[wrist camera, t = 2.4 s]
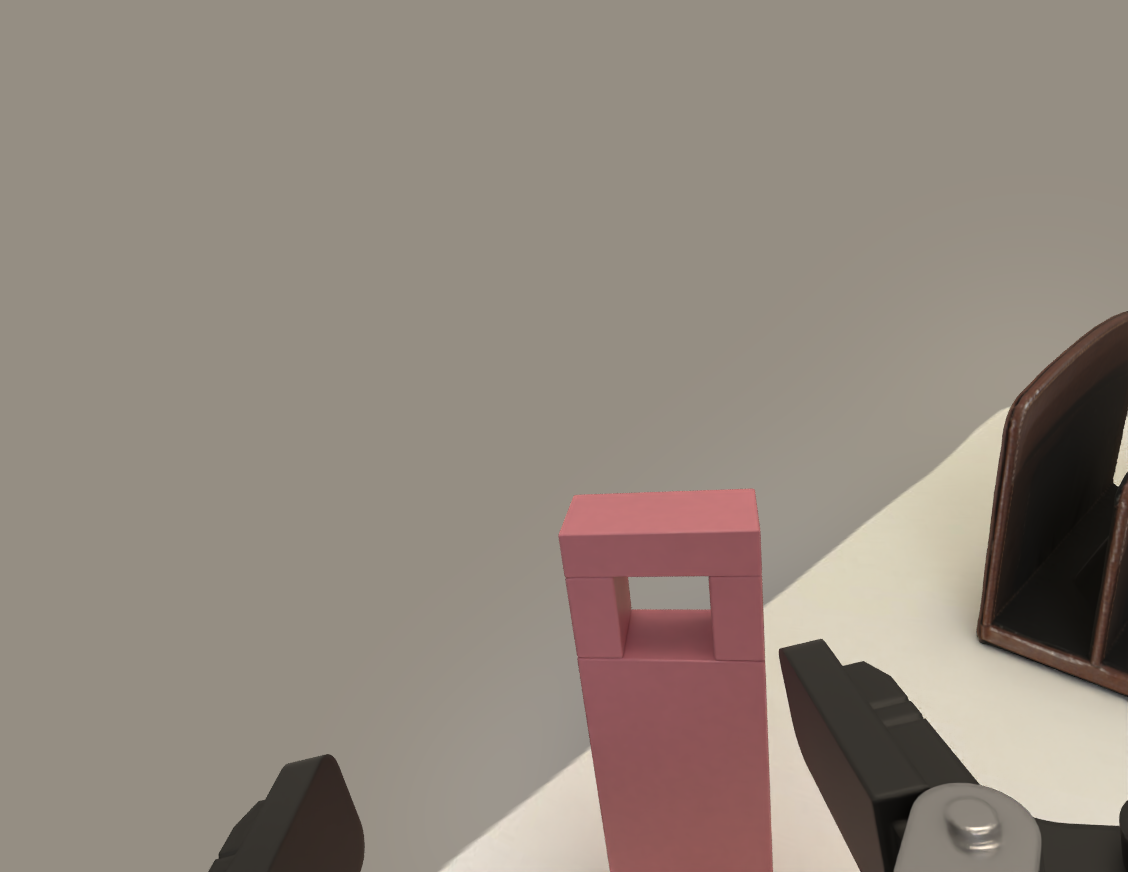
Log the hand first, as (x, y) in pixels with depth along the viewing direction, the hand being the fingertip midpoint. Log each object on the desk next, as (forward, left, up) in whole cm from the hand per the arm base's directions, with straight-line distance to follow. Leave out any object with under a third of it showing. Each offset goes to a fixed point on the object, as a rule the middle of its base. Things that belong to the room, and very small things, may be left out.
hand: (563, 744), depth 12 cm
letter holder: (+38, +2, -16) cm, 41 cm away
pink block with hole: (+7, +5, -16) cm, 18 cm away
